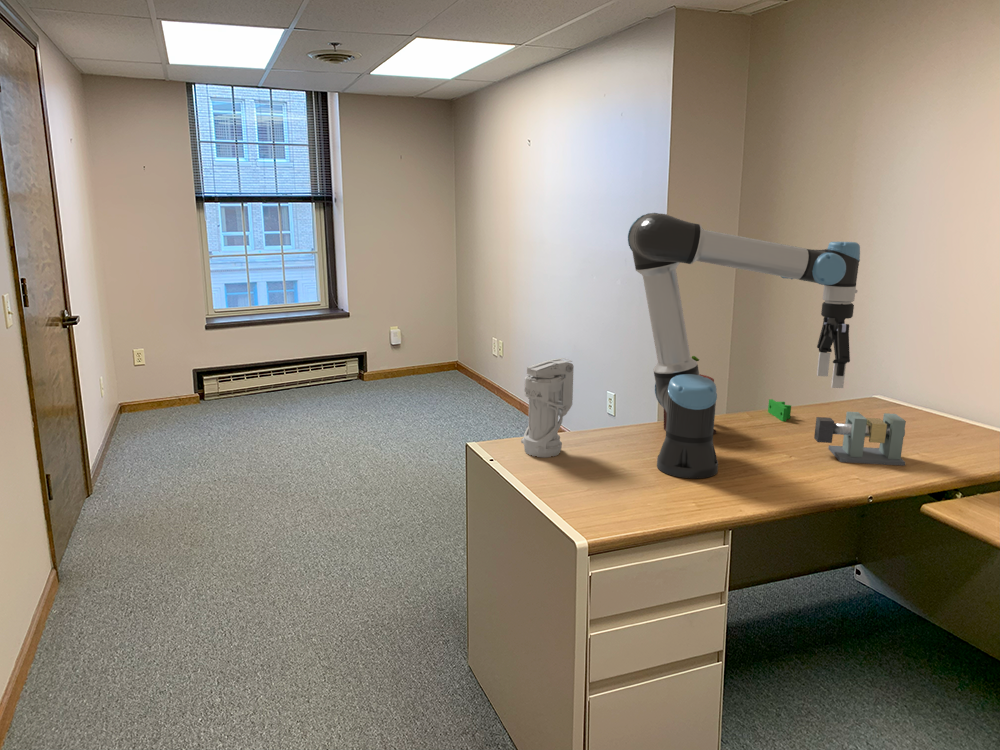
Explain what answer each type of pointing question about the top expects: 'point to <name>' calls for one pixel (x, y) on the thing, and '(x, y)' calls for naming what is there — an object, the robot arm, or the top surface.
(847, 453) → the bearing stand
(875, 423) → the spacer
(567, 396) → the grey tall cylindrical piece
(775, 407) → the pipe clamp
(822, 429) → the shaft
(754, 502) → the top surface
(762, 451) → the top surface
